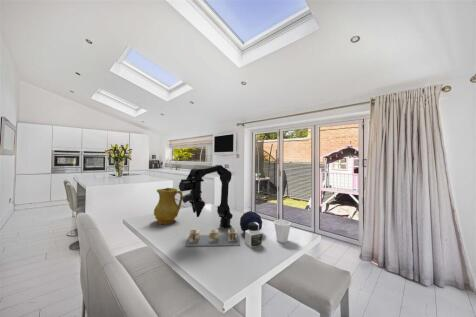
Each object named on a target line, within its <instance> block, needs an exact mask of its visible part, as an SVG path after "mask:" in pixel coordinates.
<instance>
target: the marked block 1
mask: <svg viewBox="0 0 476 317" xmlns="http://www.w3.org/2000/svg"><path fill="white" fill-rule="evenodd" d="M189 235H190V237H189V236H188V238H189V242H198V241H199V235H200V229H190V231H189Z"/></svg>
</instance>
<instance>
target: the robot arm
mask: <svg viewBox="0 0 476 317" xmlns="http://www.w3.org/2000/svg"><path fill="white" fill-rule="evenodd" d="M213 173H217V175H219V180H220V182H221V186H220V187H221V188H220V192H221V193H220V204H219V205H217V211H216V212H217V214H218V217H219V218H220V221H219V227H221V228H222V229H227V228H228V229H229V228H231V227H233V226H232V225H231V220H232V219H233V214H232V213H231V210H230V206H229V188H230V187H229V185H230V181H231V180H232V176H233V175H232V172H231V170H228V169H227V168H225V167H224V166H223V165H222V164H216V165H213V166H212V165H211V166H207V167H204V168H203V167H202V168H198V167H197V168H196V167H195V168H191V170H189V174H188V175H187V177H186V178H182V179H180V182H179V184H178V190H180V191H181V192H186V191H187V192H188V193H187V194H185V195H182V197H181V198H182V202H183V204H186V203H187V202H189V203H190V205H191V208H192V213H193V214H195V213H196V218H199V217H200V215H201V213H202V212H203V211H202V210H203V209H204V207H205V206H206V202H205V201H204V200H203V199H202V193H203V192H202V182H204V181H205V180H204V179H203V177H205V176H206V175H209V174H213ZM189 191H190V192H189Z"/></svg>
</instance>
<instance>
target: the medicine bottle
mask: <svg viewBox="0 0 476 317" xmlns="http://www.w3.org/2000/svg"><path fill="white" fill-rule="evenodd" d="M244 243H245V244H246V245H247V246H248V247H249V248H257V247H260V246H263V233H262V232H261V231H259V224H258V223H256V222H251V223H249V224H248V230H246V231H245V233H244Z"/></svg>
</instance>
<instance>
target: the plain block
mask: <svg viewBox="0 0 476 317" xmlns="http://www.w3.org/2000/svg"><path fill="white" fill-rule="evenodd" d="M208 231H209V232H208V235H209V242H218V235H219V229H209V230H208Z"/></svg>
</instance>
